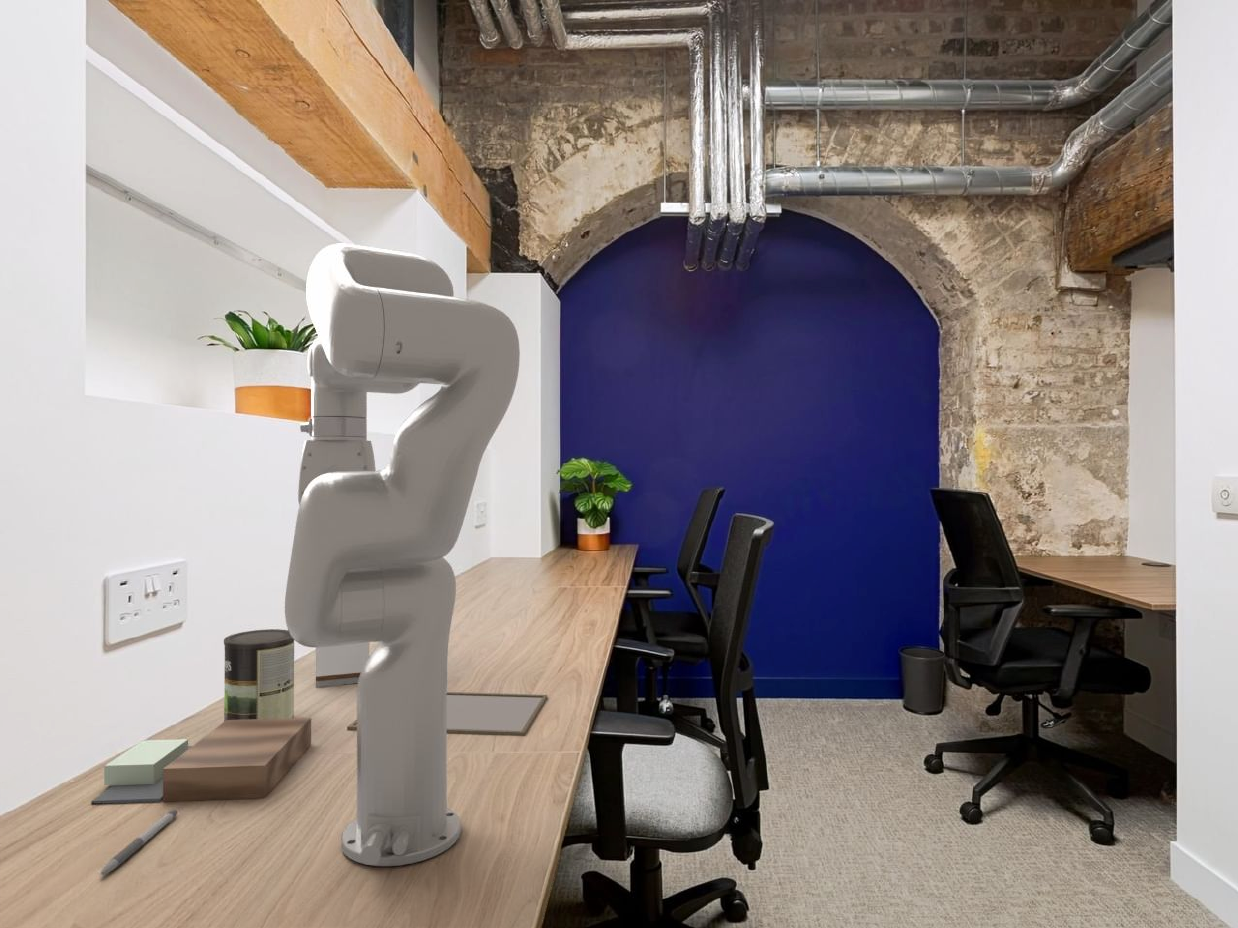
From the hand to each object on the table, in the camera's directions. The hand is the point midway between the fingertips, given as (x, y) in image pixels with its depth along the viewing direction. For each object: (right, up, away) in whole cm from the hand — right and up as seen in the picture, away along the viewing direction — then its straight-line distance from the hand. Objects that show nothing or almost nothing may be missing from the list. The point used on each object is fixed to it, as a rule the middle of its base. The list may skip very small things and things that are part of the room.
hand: (339, 558), depth 109 cm
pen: (-11, -28, -27) cm, 41 cm away
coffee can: (-17, -28, +12) cm, 35 cm away
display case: (-13, -28, +39) cm, 50 cm away
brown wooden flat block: (-10, -28, -7) cm, 30 cm away
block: (-23, -25, -8) cm, 35 cm away
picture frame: (+13, -29, +17) cm, 36 cm away
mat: (-21, -28, -8) cm, 35 cm away
